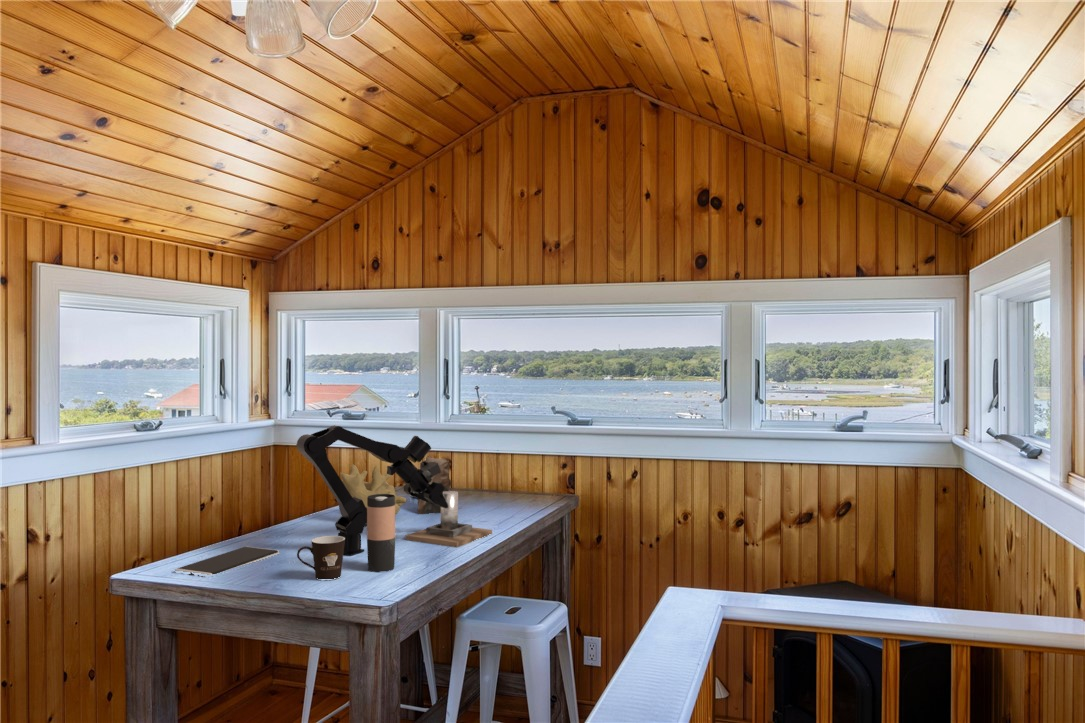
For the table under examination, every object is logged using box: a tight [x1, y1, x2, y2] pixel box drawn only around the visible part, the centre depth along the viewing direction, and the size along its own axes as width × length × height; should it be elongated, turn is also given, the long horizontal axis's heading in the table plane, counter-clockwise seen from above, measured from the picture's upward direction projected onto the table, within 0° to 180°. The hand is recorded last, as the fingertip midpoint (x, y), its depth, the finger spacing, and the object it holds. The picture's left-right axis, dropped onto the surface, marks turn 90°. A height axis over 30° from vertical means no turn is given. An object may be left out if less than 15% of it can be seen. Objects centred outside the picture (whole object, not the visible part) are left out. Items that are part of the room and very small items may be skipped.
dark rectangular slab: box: [174, 546, 280, 575], centre depth 217 cm, size 13×27×2 cm, turn 158°
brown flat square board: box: [404, 522, 493, 548], centre depth 249 cm, size 20×20×4 cm
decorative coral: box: [339, 463, 407, 526], centre depth 274 cm, size 26×22×25 cm
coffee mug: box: [296, 535, 345, 579], centre depth 203 cm, size 12×9×10 cm
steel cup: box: [440, 490, 459, 530], centre depth 249 cm, size 6×6×13 cm
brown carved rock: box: [417, 456, 452, 515], centre depth 292 cm, size 13×13×20 cm
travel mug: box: [366, 494, 396, 573], centre depth 212 cm, size 8×8×20 cm
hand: (440, 505), depth 247 cm, fingers open, 9 cm apart
